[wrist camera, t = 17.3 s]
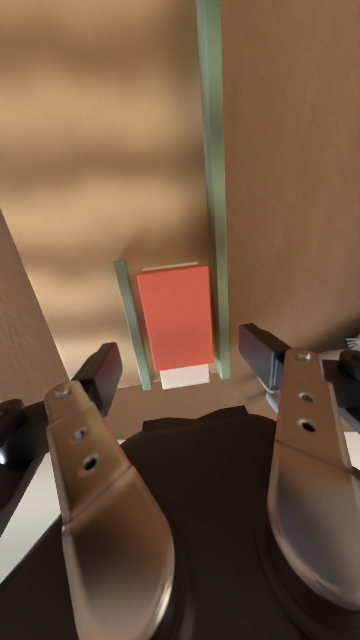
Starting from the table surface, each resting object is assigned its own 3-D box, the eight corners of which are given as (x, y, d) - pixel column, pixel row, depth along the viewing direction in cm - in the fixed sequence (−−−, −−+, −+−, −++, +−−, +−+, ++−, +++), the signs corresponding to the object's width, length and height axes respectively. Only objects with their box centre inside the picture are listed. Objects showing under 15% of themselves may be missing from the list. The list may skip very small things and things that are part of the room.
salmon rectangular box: (143, 268, 17) (135, 271, 12) (195, 261, 17) (208, 262, 12) (162, 373, 21) (162, 406, 16) (204, 366, 21) (215, 398, 16)
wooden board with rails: (-32, 53, 13) (-141, -62, 8) (201, 36, 14) (220, -77, 9) (86, 378, 23) (66, 408, 19) (217, 358, 24) (231, 382, 19)
